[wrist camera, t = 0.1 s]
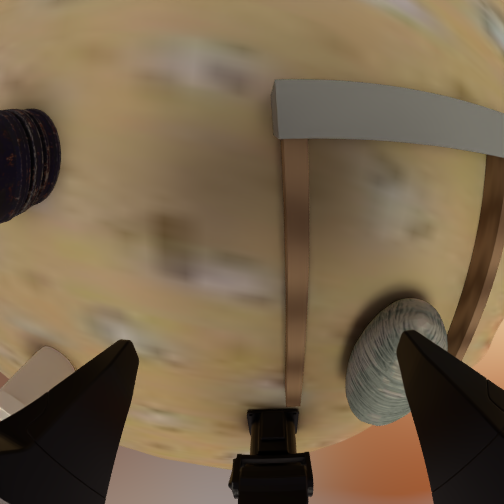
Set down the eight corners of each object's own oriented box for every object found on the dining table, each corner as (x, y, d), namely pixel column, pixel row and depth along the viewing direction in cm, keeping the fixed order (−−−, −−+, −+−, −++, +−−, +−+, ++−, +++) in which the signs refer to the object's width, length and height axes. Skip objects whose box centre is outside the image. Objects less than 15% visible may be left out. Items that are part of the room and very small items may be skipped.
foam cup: (68, 343, 30) (20, 418, 18) (93, 390, 33) (61, 459, 22) (23, 333, 30) (-23, 393, 18) (49, 377, 34) (14, 436, 22)
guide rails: (443, 362, 29) (452, 378, 26) (285, 386, 30) (286, 406, 27) (496, 153, 18) (516, 158, 15) (280, 134, 19) (283, 136, 17)
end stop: (499, 153, 18) (549, 170, 12) (273, 135, 19) (278, 139, 13) (499, 123, 17) (551, 133, 10) (270, 95, 18) (274, 79, 12)
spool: (407, 403, 27) (406, 456, 19) (338, 382, 31) (317, 431, 22) (453, 300, 25) (478, 331, 16) (376, 277, 29) (371, 299, 20)
